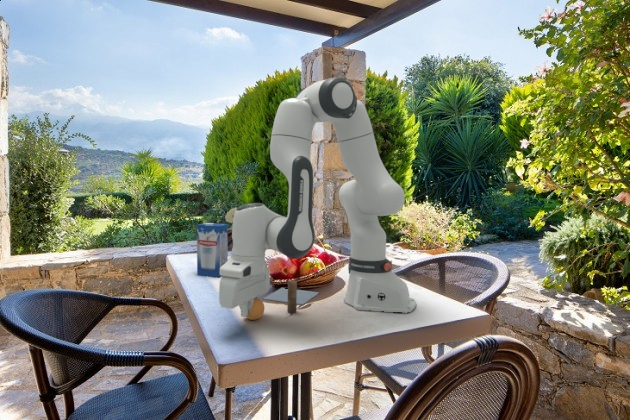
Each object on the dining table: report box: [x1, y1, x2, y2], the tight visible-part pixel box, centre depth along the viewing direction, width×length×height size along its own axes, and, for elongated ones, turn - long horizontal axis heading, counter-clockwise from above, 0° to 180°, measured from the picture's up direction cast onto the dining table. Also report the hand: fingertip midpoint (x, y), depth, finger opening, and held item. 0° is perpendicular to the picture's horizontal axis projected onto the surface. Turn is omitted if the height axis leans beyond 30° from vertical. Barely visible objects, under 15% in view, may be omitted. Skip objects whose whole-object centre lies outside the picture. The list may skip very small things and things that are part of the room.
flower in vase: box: [224, 207, 238, 260], centre depth 181 cm, size 13×11×25 cm
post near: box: [286, 279, 298, 314], centre depth 118 cm, size 3×3×9 cm
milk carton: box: [196, 222, 229, 279], centre depth 159 cm, size 10×6×20 cm, turn 72°
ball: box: [245, 297, 265, 321], centre depth 112 cm, size 6×6×6 cm
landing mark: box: [262, 287, 320, 306], centre depth 134 cm, size 14×14×1 cm
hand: (245, 315), depth 108 cm, fingers closed
